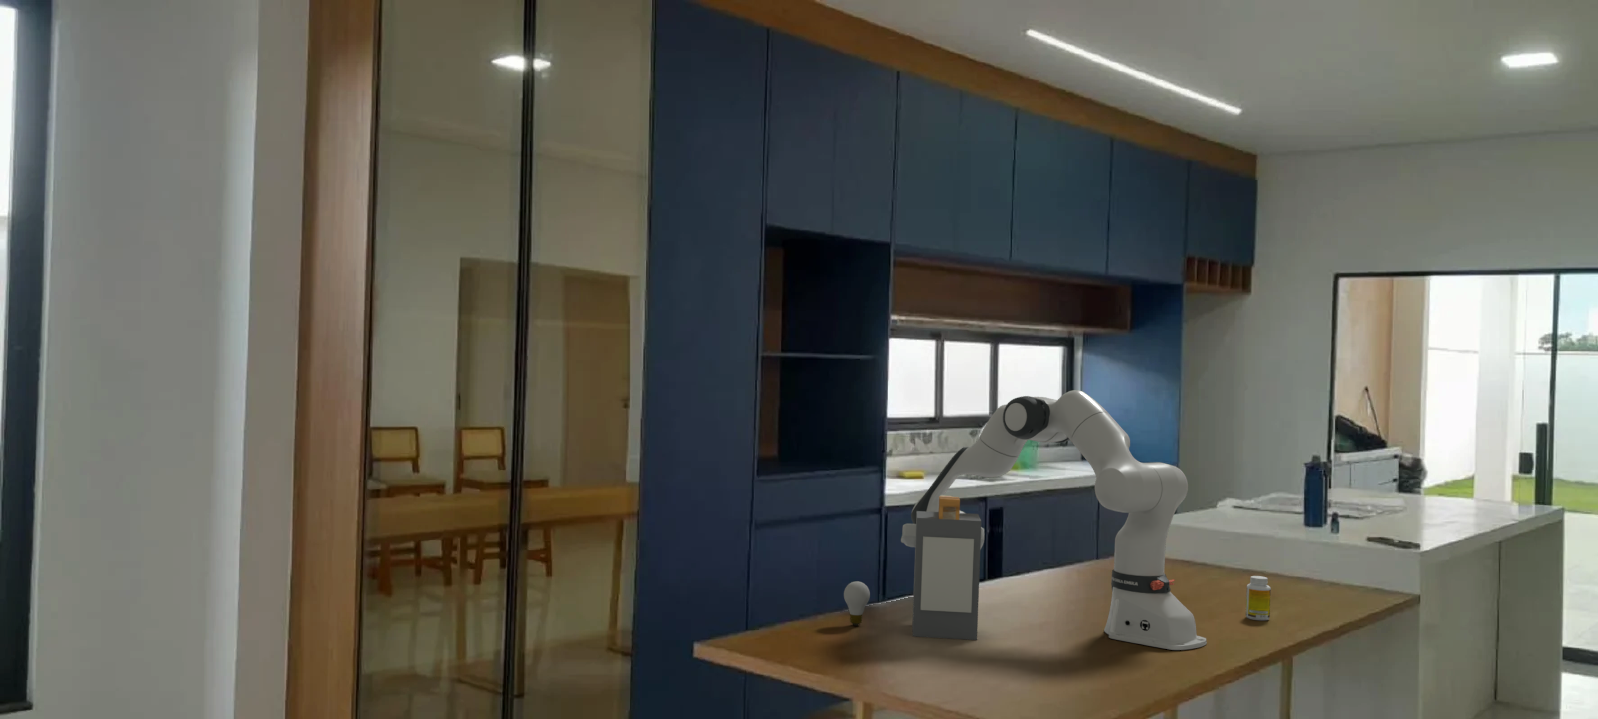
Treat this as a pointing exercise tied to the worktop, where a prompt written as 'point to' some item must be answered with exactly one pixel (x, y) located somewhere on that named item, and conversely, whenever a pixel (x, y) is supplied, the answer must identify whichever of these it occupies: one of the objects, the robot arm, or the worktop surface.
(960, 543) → the cabinet
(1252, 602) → the supplement bottle
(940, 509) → the bar
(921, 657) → the worktop surface
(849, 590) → the light bulb
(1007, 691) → the worktop surface
